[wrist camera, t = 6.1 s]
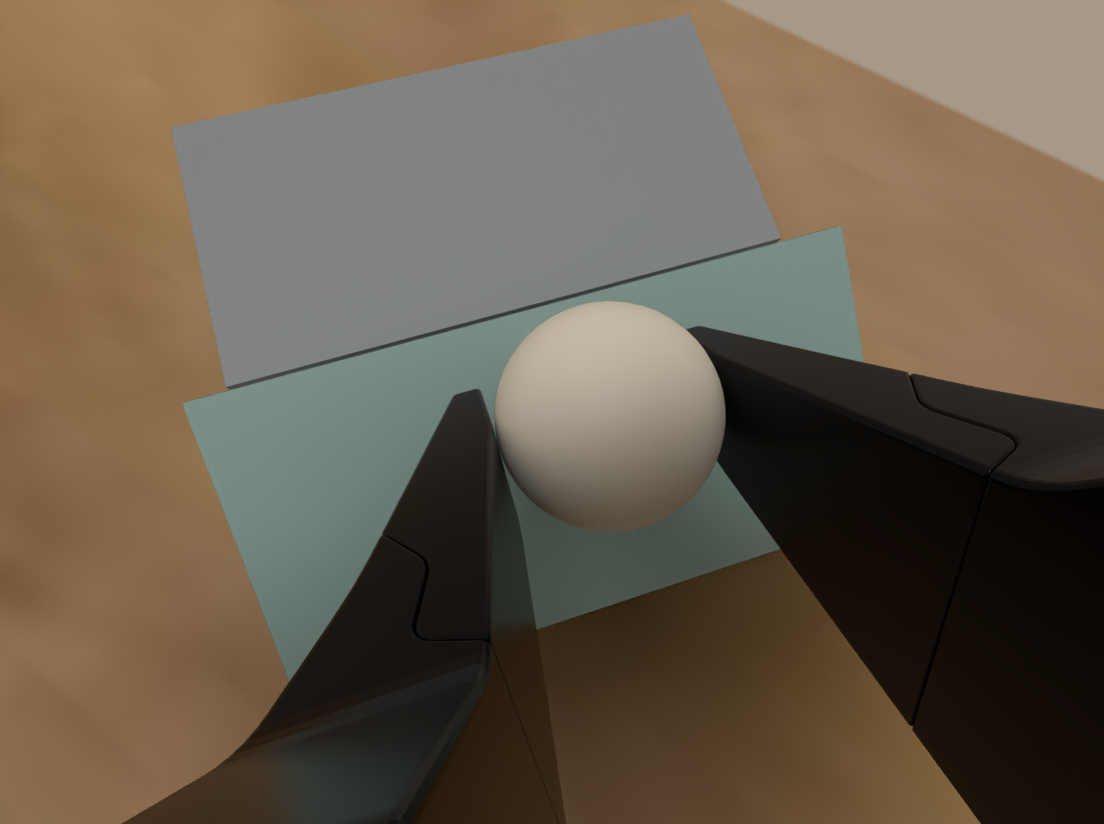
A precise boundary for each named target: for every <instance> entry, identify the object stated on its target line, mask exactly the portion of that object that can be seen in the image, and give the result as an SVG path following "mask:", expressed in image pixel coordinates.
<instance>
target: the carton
mask: <svg viewBox="0 0 1104 824" xmlns="http://www.w3.org/2000/svg"><path fill="white" fill-rule="evenodd" d="M171 130H172V134H173V139H174V144H175V149H176V153H177V158H178V163H179V168H180V172H181V177H182V182H183V186H184V191H185V196H186V201H187V205H188V210H189V215H190V220H191V224H192V229H193V234H194V239H195V243H196V248H197V253H198V258H199V262H200V267H201V272H202V276H203V281H204V286H205V291H206V295H207V300H208V305H209V310H210V314H211V319H212V324H213V329H214V333H215V338H216V343H217V348H218V352H219V357H220V362H221V367H222V371H223V376H224V381H225V385H226V387H227V388H229V389H230V390H231V389H235V388H239V387H242V386H246V385H250V384H254V383H257V382H261V381H265V380H268V379H272V378H276V377H280V376H283V375H287V374H291V373H294V372H298V371H302V370H306V369H309V368H313V367H317V366H320V365H324V364H328V363H332V362H335V361H339V360H343V359H347V358H350V357H354V356H358V355H361V354H365V353H369V352H373V351H376V350H380V349H384V348H387V347H391V346H395V345H399V344H402V343H406V342H410V341H413V340H417V339H421V338H425V337H428V336H432V335H436V334H439V333H443V332H447V331H451V330H454V329H458V328H462V327H465V326H469V325H473V324H477V323H480V322H484V321H488V320H491V319H495V318H499V317H503V316H506V315H510V314H514V313H517V312H521V311H525V310H529V309H532V308H536V307H540V306H543V305H547V304H551V303H555V302H558V301H562V300H566V299H569V298H573V297H577V296H581V295H584V294H588V293H592V292H595V291H599V290H603V289H607V288H610V287H614V286H618V285H621V284H625V283H629V282H633V281H636V280H640V279H644V278H647V277H651V276H655V275H659V274H662V273H666V272H670V271H673V270H677V269H681V268H685V267H688V266H692V265H696V264H700V263H703V262H707V261H711V260H714V259H718V258H722V257H726V256H729V255H733V254H737V253H740V252H744V251H748V250H752V249H755V248H759V247H763V246H766V245H770V244H774V243H777V242H778V241H779V240H780V238H781V237H780V235H779V232H778V230H777V227H776V225H775V222H774V220H773V217H772V215H771V213H770V210H769V208H768V205H767V203H766V200H765V198H764V196H763V193H762V191H761V188H760V186H759V183H758V181H757V178H756V176H755V174H754V171H753V169H752V166H751V164H750V161H749V159H748V157H747V154H746V152H745V149H744V147H743V144H742V142H741V139H740V137H739V135H738V132H737V130H736V127H735V125H734V122H733V120H732V118H731V115H730V113H729V110H728V108H727V105H726V103H725V100H724V98H723V96H722V93H721V91H720V88H719V86H718V83H717V81H716V79H715V76H714V74H713V71H712V69H711V66H710V64H709V61H708V59H707V57H706V54H705V52H704V49H703V47H702V44H701V42H700V39H699V37H698V35H697V32H696V30H695V27H694V25H693V22H692V20H691V18H690V15H689V14H688V15H683V16H679V17H674V18H670V19H665V20H660V21H656V22H651V23H647V24H642V25H638V26H633V27H628V28H624V29H619V30H615V31H610V32H606V33H601V34H596V35H592V36H587V37H583V38H578V39H574V40H569V41H564V42H560V43H555V44H551V45H546V46H542V47H537V48H532V49H528V50H523V51H519V52H514V53H510V54H505V55H500V56H496V57H491V58H487V59H482V60H478V61H473V62H468V63H464V64H459V65H455V66H450V67H446V68H441V69H436V70H432V71H427V72H423V73H418V74H414V75H409V76H404V77H400V78H395V79H391V80H386V81H382V82H377V83H372V84H368V85H363V86H359V87H354V88H350V89H345V90H340V91H336V92H331V93H327V94H322V95H318V96H313V97H308V98H304V99H299V100H295V101H290V102H286V103H281V104H276V105H272V106H267V107H263V108H258V109H254V110H249V111H244V112H240V113H235V114H231V115H226V116H222V117H217V118H212V119H208V120H203V121H199V122H194V123H190V124H185V125H180V126H176V127H171Z"/></svg>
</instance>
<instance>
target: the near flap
mask: <svg viewBox="0 0 1104 824" xmlns="http://www.w3.org/2000/svg"><path fill="white" fill-rule="evenodd" d="M695 326H703V327H708V328H712V329H717V330H721V331H726V332H730V333H735V334H739V335H743V336H748V337H752V338H757V339H761V340H766V341H770V342H775V343H779V344H784V345H788V346H793V347H797V348H801V349H806V350H810V351H815V352H819V353H824V354H828V355H833V356H837V357H842V358H846V359H850V360H855V361H859V362H864V361H863V355H862V349H861V343H860V337H859V330H858V324H857V318H856V312H855V306H854V300H853V294H852V288H851V281H850V275H849V269H848V263H847V257H846V251H845V245H844V238H843V232H842V226H839V227H835V228H830V229H826V230H822V231H818V232H815V233H811V234H807V235H804V236H800V237H796V238H792V239H789V240H785V241H781V242H778V243H774V244H770V245H766V246H763V247H759V248H755V249H752V250H748V251H744V252H740V253H737V254H733V255H729V256H726V257H722V258H718V259H714V260H711V261H707V262H703V263H700V264H696V265H692V266H688V267H685V268H681V269H677V270H673V271H670V272H666V273H662V274H659V275H655V276H651V277H647V278H644V279H640V280H636V281H633V282H629V283H625V284H621V285H618V286H614V287H610V288H607V289H603V290H599V291H595V292H592V293H588V294H584V295H581V296H577V297H573V298H569V299H566V300H562V301H558V302H555V303H551V304H547V305H543V306H540V307H536V308H532V309H529V310H525V311H521V312H517V313H514V314H510V315H506V316H503V317H499V318H495V319H491V320H488V321H484V322H480V323H477V324H473V325H469V326H465V327H462V328H458V329H454V330H451V331H447V332H443V333H439V334H436V335H432V336H428V337H425V338H421V339H417V340H413V341H410V342H406V343H402V344H399V345H395V346H391V347H387V348H384V349H380V350H376V351H373V352H369V353H365V354H361V355H358V356H354V357H350V358H347V359H343V360H339V361H335V362H332V363H328V364H324V365H320V366H317V367H313V368H309V369H306V370H302V371H298V372H294V373H291V374H287V375H283V376H280V377H276V378H272V379H268V380H265V381H261V382H257V383H254V384H250V385H246V386H242V387H239V388H235V389H231V390H228V391H224V392H220V393H216V394H213V395H209V396H205V397H202V398H198V399H194V400H191V401H188V402H185V403H182V404H183V406H184V409H185V412H186V414H187V417H188V419H189V422H190V425H191V427H192V430H193V432H194V435H195V438H196V440H197V443H198V445H199V448H200V451H201V453H202V456H203V458H204V461H205V464H206V466H207V469H208V471H209V474H210V477H211V479H212V482H213V484H214V487H215V490H216V492H217V495H218V497H219V500H220V503H221V505H222V508H223V510H224V513H225V516H226V518H227V521H228V523H229V526H230V529H231V531H232V534H233V536H234V539H235V542H236V544H237V547H238V549H239V552H240V555H241V557H242V560H243V562H244V565H245V568H246V570H247V573H248V575H249V578H250V581H251V583H252V586H253V588H254V591H255V594H256V596H257V599H258V601H259V604H260V607H261V609H262V612H263V614H264V617H265V620H266V622H267V625H268V627H269V630H270V633H271V635H272V638H273V640H274V643H275V645H276V648H277V651H278V653H279V656H280V658H281V661H282V664H283V666H284V669H285V671H286V674H287V677H288V679H289V681H290V680H291V678H292V677H293V676H294V674H295V673H296V671H297V670H298V668H299V667H300V665H301V664H302V662H303V661H304V659H305V658H306V656H307V655H308V653H309V652H310V651H311V649H312V648H313V646H314V645H315V643H316V642H317V640H318V639H319V637H320V636H321V634H322V633H323V631H324V630H325V628H326V627H327V625H328V624H329V623H330V621H331V619H332V618H333V616H334V615H335V613H336V612H337V610H338V609H339V607H340V605H341V604H342V602H343V601H344V599H345V598H346V596H347V595H348V593H349V591H350V590H351V588H352V587H353V585H354V583H355V581H356V580H357V578H358V576H359V574H360V573H361V571H362V569H363V567H364V565H365V564H366V562H367V560H368V558H369V557H370V555H371V553H372V551H373V549H374V547H375V545H376V543H377V541H378V539H379V538H380V537H381V536H382V532H383V530H384V528H385V526H386V524H387V522H388V520H389V518H390V517H391V515H392V513H393V511H394V509H395V507H396V505H397V503H398V501H399V499H400V497H401V495H402V493H403V491H404V489H405V488H406V486H407V484H408V482H409V480H410V478H411V476H412V474H413V472H414V470H415V468H416V466H417V464H418V462H419V460H420V459H421V457H422V455H423V453H424V451H425V449H426V447H427V445H428V443H429V441H430V439H431V437H432V435H433V433H434V431H435V430H436V428H437V426H438V424H439V422H440V420H441V418H442V416H443V414H444V412H445V410H446V408H447V406H448V404H449V402H450V401H451V399H452V397H453V396H454V395H455V394H458V393H462V392H465V391H469V390H472V389H479V390H481V392H482V395H483V398H484V401H485V404H486V407H487V410H488V413H489V416H490V419H491V422H492V426H493V429H494V433H495V436H496V440H497V444H498V447H499V451H500V454H501V458H502V461H503V465H504V469H505V472H506V476H507V479H508V483H509V486H510V490H511V494H512V497H513V501H514V504H515V508H516V511H517V515H518V519H519V523H520V527H521V532H522V538H523V544H524V551H525V557H526V564H527V570H528V577H529V584H530V590H531V597H532V603H533V610H534V616H535V623H536V630H537V629H540V628H543V627H546V626H549V625H552V624H556V623H559V622H562V621H565V620H568V619H571V618H574V617H577V616H580V615H583V614H586V613H589V612H592V611H595V610H598V609H601V608H604V607H607V606H610V605H613V604H616V603H619V602H622V601H625V600H628V599H631V598H634V597H637V596H640V595H643V594H646V593H649V592H652V591H655V590H658V589H661V588H664V587H667V586H670V585H673V584H676V583H679V582H682V581H685V580H688V579H691V578H694V577H697V576H700V575H703V574H706V573H709V572H712V571H715V570H718V569H721V568H724V567H727V566H730V565H733V564H736V563H739V562H742V561H745V560H748V559H752V558H755V557H758V556H761V555H764V554H767V553H770V552H773V551H776V550H779V549H780V548H779V546H778V545H777V544H776V542H775V541H774V539H773V538H772V537H771V535H770V534H769V533H768V531H767V530H766V529H765V527H764V526H763V524H762V523H761V522H760V520H759V519H758V518H757V516H756V515H755V514H754V512H753V511H752V509H751V508H750V507H749V505H748V504H747V503H746V501H745V500H744V498H743V497H742V496H741V494H740V493H739V492H738V490H737V489H736V488H735V486H734V485H733V483H732V482H731V481H730V479H729V478H728V477H727V475H726V474H725V472H724V471H723V469H722V468H721V466H720V465H719V463H718V462H717V458H718V456H719V453H720V450H721V446H722V442H723V438H724V431H725V421H726V417H725V401H724V394H723V390H722V386H721V383H720V379H719V377H718V374H717V372H716V370H715V367H714V365H713V363H712V362H711V360H710V358H709V357H708V355H707V353H706V351H705V350H704V349H703V347H702V346H701V345H700V344H699V342H698V341H697V340H696V339H695V338H694V337H693V336H692V335H691V334H690V333H689V332H688V331H687V330H686V329H688V328H692V327H695Z"/></svg>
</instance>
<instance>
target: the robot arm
mask: <svg viewBox="0 0 1104 824" xmlns="http://www.w3.org/2000/svg"><path fill="white" fill-rule="evenodd" d="M686 330H687V331H688V332H689V333H690V334H691V335H692V336H693V337H694V338H695V339H696V340H697V341H698V342H699V344H700V345H701V346H702V347H703V349H704V350H705V351H706V353H707V355H708V357H709V358H710V360H711V362H712V363H713V365H714V367H715V370H716V372H717V374H718V377H719V379H720V383H721V386H722V390H723V394H724V401H725V417H726V421H725V431H724V438H723V442H722V446H721V450H720V453H719V456H718V458H717V462H718V463H719V465H720V466H721V468H722V469H723V471H724V472H725V474H726V475H727V477H728V478H729V479H730V481H731V482H732V483H733V485H734V486H735V488H736V489H737V490H738V492H739V493H740V494H741V496H742V497H743V498H744V500H745V501H746V503H747V504H748V505H749V507H750V508H751V509H752V511H753V512H754V514H755V515H756V516H757V518H758V519H759V520H760V522H761V523H762V524H763V526H764V527H765V529H766V530H767V531H768V533H769V534H770V535H771V537H772V538H773V539H774V541H775V542H776V544H777V545H778V546H779V548H780V549H781V550H782V552H783V553H784V555H785V556H786V557H787V559H788V560H789V561H790V563H791V564H792V565H793V567H794V568H795V570H796V571H797V572H798V574H799V575H800V576H801V578H802V579H803V581H804V582H805V583H806V585H807V586H808V587H809V589H810V590H811V591H812V593H813V594H814V596H815V597H816V598H817V600H818V601H819V602H820V604H821V605H822V606H823V608H824V609H825V611H826V612H827V613H828V615H829V616H830V617H831V619H832V620H833V622H834V623H835V624H836V626H837V627H838V628H839V630H840V631H841V632H842V634H843V635H844V637H845V638H846V639H847V641H848V642H849V643H850V645H851V646H852V648H853V649H854V650H855V652H856V653H857V654H858V656H859V657H860V658H861V660H862V661H863V663H864V664H865V665H866V667H867V668H868V669H869V671H870V672H871V673H872V675H873V676H874V678H875V679H876V680H877V682H878V683H879V684H880V686H881V687H882V689H883V690H884V691H885V693H886V694H887V695H888V697H889V698H890V699H891V701H892V702H893V704H894V705H895V706H896V708H897V709H898V710H899V712H900V713H901V715H902V716H903V717H904V719H905V720H906V721H907V723H908V724H909V725H910V726H913V728H912V730H913V732H914V733H915V734H916V736H917V737H918V738H919V740H920V741H921V743H922V744H923V745H924V747H925V748H926V749H927V751H928V752H929V753H930V755H931V756H932V758H933V759H934V760H935V762H936V763H937V764H938V766H939V767H940V769H941V770H942V771H943V773H944V774H945V775H946V777H947V778H948V779H949V781H950V782H951V784H952V785H953V786H954V788H955V789H956V790H957V792H958V793H959V795H960V796H961V797H962V799H963V800H964V801H965V803H966V804H967V805H968V807H969V808H970V810H971V811H972V812H973V814H974V815H975V816H976V818H977V819H978V820H979V822H980V823H981V824H1104V409H1099V408H1093V407H1087V406H1081V405H1075V404H1069V403H1063V402H1057V401H1052V400H1046V399H1040V398H1034V397H1028V396H1022V395H1017V394H1011V393H1006V392H1000V391H995V390H989V389H984V388H979V387H974V386H969V385H964V384H959V383H955V382H950V381H945V380H940V379H936V378H931V377H927V376H923V375H918V374H911V375H910V376H909V374H908V373H907V372H904V371H900V370H895V369H891V368H886V367H882V366H877V365H873V364H868V363H864V362H859V361H855V360H850V359H846V358H842V357H837V356H833V355H828V354H824V353H819V352H815V351H810V350H806V349H801V348H797V347H793V346H788V345H784V344H779V343H775V342H770V341H766V340H761V339H757V338H752V337H748V336H743V335H739V334H735V333H730V332H726V331H721V330H717V329H712V328H708V327H703V326H695V327H692V328H688V329H686ZM122 824H566V820H565V813H564V807H563V800H562V794H561V787H560V781H559V774H558V767H557V761H556V754H555V748H554V741H553V735H552V728H551V721H550V715H549V708H548V702H547V695H546V689H545V682H544V676H543V669H542V662H541V656H540V649H539V643H538V636H537V630H536V623H535V616H534V610H533V603H532V597H531V590H530V584H529V577H528V570H527V564H526V557H525V551H524V544H523V538H522V532H521V527H520V523H519V519H518V515H517V511H516V508H515V504H514V501H513V497H512V494H511V490H510V486H509V483H508V479H507V476H506V472H505V469H504V465H503V461H502V458H501V454H500V451H499V447H498V444H497V440H496V436H495V433H494V429H493V426H492V422H491V419H490V416H489V413H488V410H487V407H486V404H485V401H484V398H483V395H482V392H481V390H479V389H472V390H469V391H465V392H462V393H458V394H455V395H454V396H453V397H452V399H451V401H450V402H449V404H448V406H447V408H446V410H445V412H444V414H443V416H442V418H441V420H440V422H439V424H438V426H437V428H436V430H435V431H434V433H433V435H432V437H431V439H430V441H429V443H428V445H427V447H426V449H425V451H424V453H423V455H422V457H421V459H420V460H419V462H418V464H417V466H416V468H415V470H414V472H413V474H412V476H411V478H410V480H409V482H408V484H407V486H406V488H405V489H404V491H403V493H402V495H401V497H400V499H399V501H398V503H397V505H396V507H395V509H394V511H393V513H392V515H391V517H390V518H389V520H388V522H387V524H386V526H385V528H384V530H383V532H382V536H381V537H380V538H379V539H378V541H377V543H376V545H375V547H374V549H373V551H372V553H371V555H370V557H369V558H368V560H367V562H366V564H365V565H364V567H363V569H362V571H361V573H360V574H359V576H358V578H357V580H356V581H355V583H354V585H353V587H352V588H351V590H350V591H349V593H348V595H347V596H346V598H345V599H344V601H343V602H342V604H341V605H340V607H339V609H338V610H337V612H336V613H335V615H334V616H333V618H332V619H331V621H330V623H329V624H328V625H327V627H326V628H325V630H324V631H323V633H322V634H321V636H320V637H319V639H318V640H317V642H316V643H315V645H314V646H313V648H312V649H311V651H310V652H309V653H308V655H307V656H306V658H305V659H304V661H303V662H302V664H301V665H300V667H299V668H298V670H297V671H296V673H295V674H294V676H293V677H292V678H291V680H290V681H289V683H288V684H287V686H286V687H285V689H284V690H283V692H282V693H281V695H280V696H279V698H278V699H277V701H276V702H275V704H274V705H273V706H272V708H271V709H270V711H269V712H268V714H267V715H266V716H265V718H264V719H263V720H262V722H261V723H260V724H259V726H258V727H257V728H256V730H255V731H254V732H253V733H252V734H251V735H250V737H249V738H248V739H247V740H246V741H245V742H244V743H243V744H242V745H241V746H240V747H239V748H238V749H237V750H236V751H235V752H234V753H233V754H232V755H231V756H230V757H229V758H227V759H226V760H225V761H223V762H222V763H221V764H220V765H218V766H217V767H216V768H214V769H213V770H211V771H210V772H208V773H207V774H205V775H204V776H202V777H201V778H199V779H197V780H195V781H194V782H192V783H190V784H189V785H187V786H185V787H183V788H182V789H180V790H178V791H177V792H175V793H173V794H172V795H170V796H168V797H166V798H165V799H163V800H161V801H160V802H158V803H156V804H154V805H153V806H151V807H149V808H148V809H146V810H144V811H142V812H141V813H139V814H137V815H136V816H134V817H132V818H131V819H129V820H127V821H125V822H124V823H122Z"/></svg>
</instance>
